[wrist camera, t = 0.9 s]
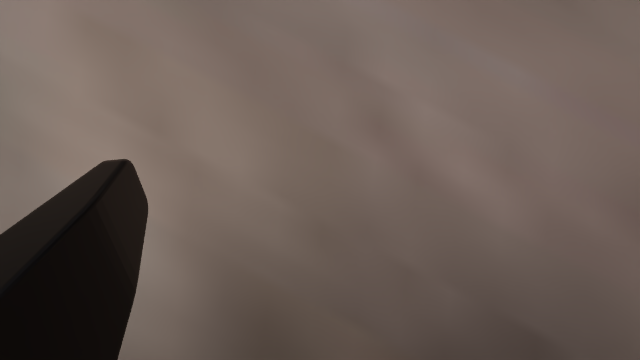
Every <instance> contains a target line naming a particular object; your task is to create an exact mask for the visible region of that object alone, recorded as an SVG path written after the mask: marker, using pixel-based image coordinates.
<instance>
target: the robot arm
mask: <svg viewBox="0 0 640 360" xmlns="http://www.w3.org/2000/svg"><path fill="white" fill-rule="evenodd" d="M147 217H148V202H147V198H146V195H145V193H144V190H143V188H142V185H141V183H140V180H139V178H138V175H137V172H136V170H135V168H134V166H133V164H132V163H131V161H129V160H127V159H119V160H108V161H104V162H102V163H100V164H99V165H97V166H96V167H94V168H93V169H92V170H90V171H89V172H87V173H86V174H85V175H83V176H82V177H80V178H79V179H78V180H76V181H75V182H73V183H72V184H71V185H69V186H68V187H66V188H65V189H64V190H62V191H61V192H59V193H58V194H57V195H55V196H54V197H52V198H51V199H50V200H48V201H47V202H45V203H44V204H43V205H41V206H40V207H38V208H37V209H36V210H34V211H33V212H31V213H30V214H29V215H27V216H26V217H24V218H23V219H22V220H20V221H19V222H17V223H16V224H15V225H13V226H12V227H10V228H9V229H8V230H6V231H5V232H3V233H2V234H1V235H0V360H117V359H118V355H119V352H120V348H121V345H122V341H123V337H124V334H125V330H126V327H127V323H128V319H129V316H130V312H131V309H132V305H133V301H134V297H135V293H136V288H137V282H138V277H139V270H140V263H141V257H142V250H143V243H144V237H145V230H146V223H147Z"/></svg>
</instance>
